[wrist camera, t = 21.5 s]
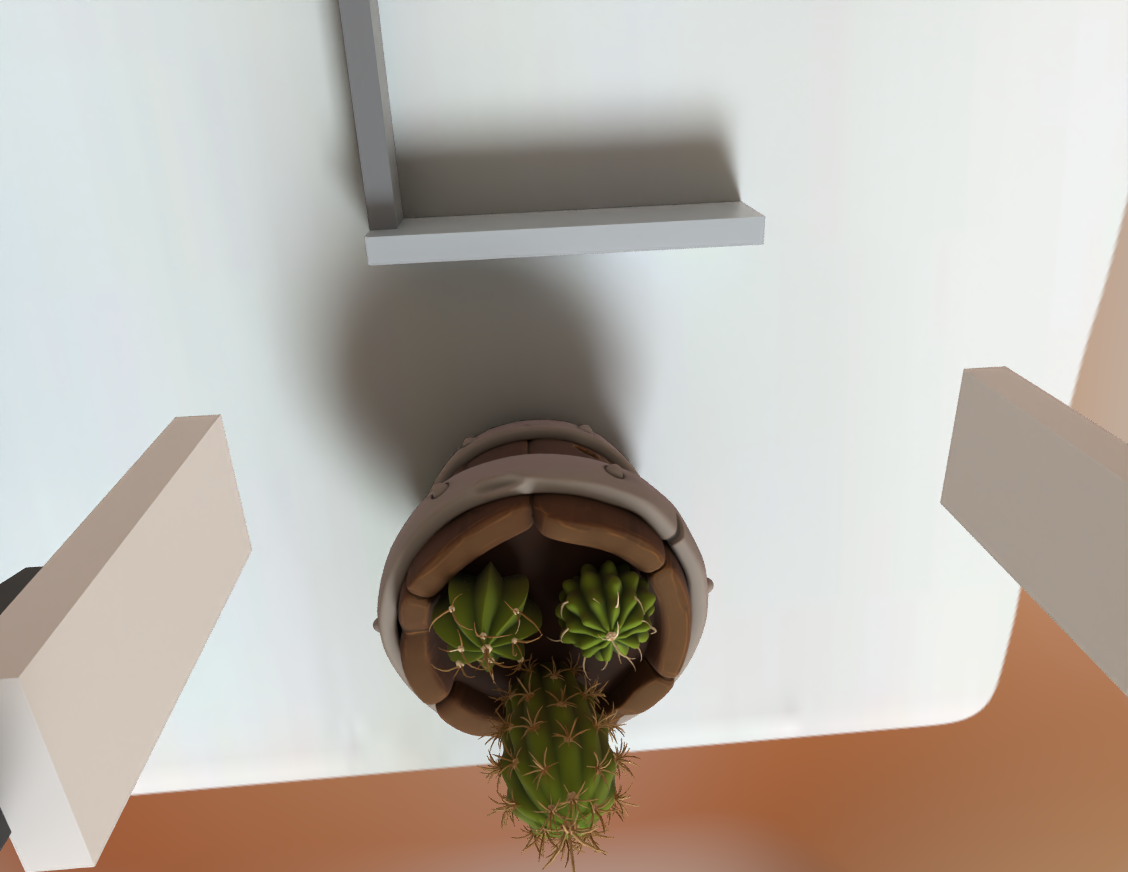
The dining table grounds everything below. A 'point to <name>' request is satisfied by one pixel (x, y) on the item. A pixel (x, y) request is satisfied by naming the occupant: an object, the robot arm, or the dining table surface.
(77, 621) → the robot arm
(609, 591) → the flowerpot
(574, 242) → the u-shaped frame
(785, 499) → the dining table surface
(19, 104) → the dining table surface
